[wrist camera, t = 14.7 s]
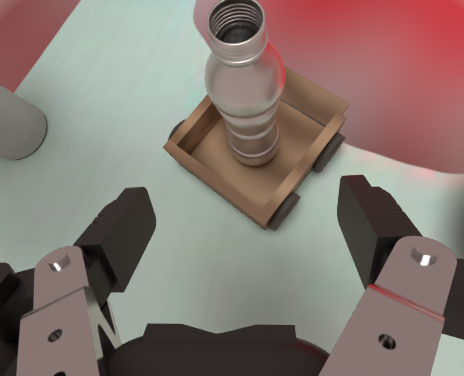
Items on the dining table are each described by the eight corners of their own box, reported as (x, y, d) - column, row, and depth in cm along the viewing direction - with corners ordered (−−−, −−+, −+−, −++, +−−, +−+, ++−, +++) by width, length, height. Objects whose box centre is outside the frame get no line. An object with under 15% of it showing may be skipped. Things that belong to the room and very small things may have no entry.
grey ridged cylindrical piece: (266, 115, 36) (260, -42, 17) (288, 158, 34) (311, 37, 15) (222, 135, 36) (167, 3, 17) (242, 179, 35) (206, 86, 15)
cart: (259, 55, 40) (258, 22, 34) (363, 115, 36) (381, 89, 30) (173, 159, 38) (156, 142, 32) (272, 235, 34) (272, 232, 28)
